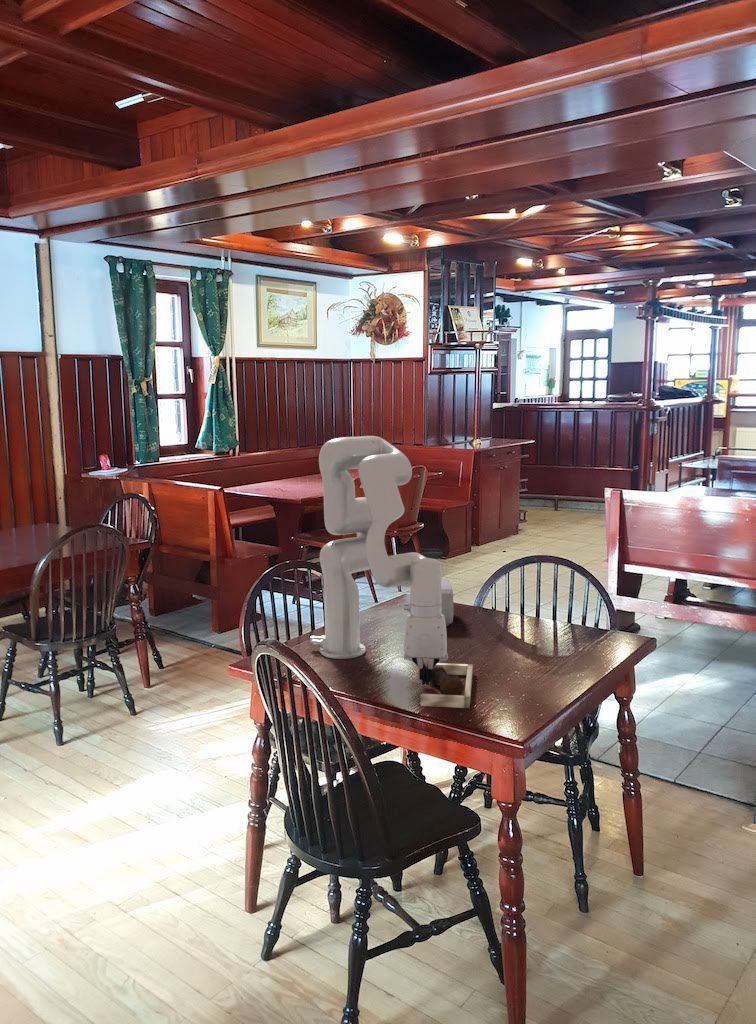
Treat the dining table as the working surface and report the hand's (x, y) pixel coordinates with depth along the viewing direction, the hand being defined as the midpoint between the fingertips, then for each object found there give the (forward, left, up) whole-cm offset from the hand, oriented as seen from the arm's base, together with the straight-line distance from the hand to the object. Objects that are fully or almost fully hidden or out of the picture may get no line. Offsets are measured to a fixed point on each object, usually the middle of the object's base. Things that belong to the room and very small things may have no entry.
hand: (425, 682), depth 199 cm
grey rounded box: (-2, +57, -2) cm, 57 cm away
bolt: (+4, +1, -2) cm, 5 cm away
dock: (+5, 0, -1) cm, 5 cm away
